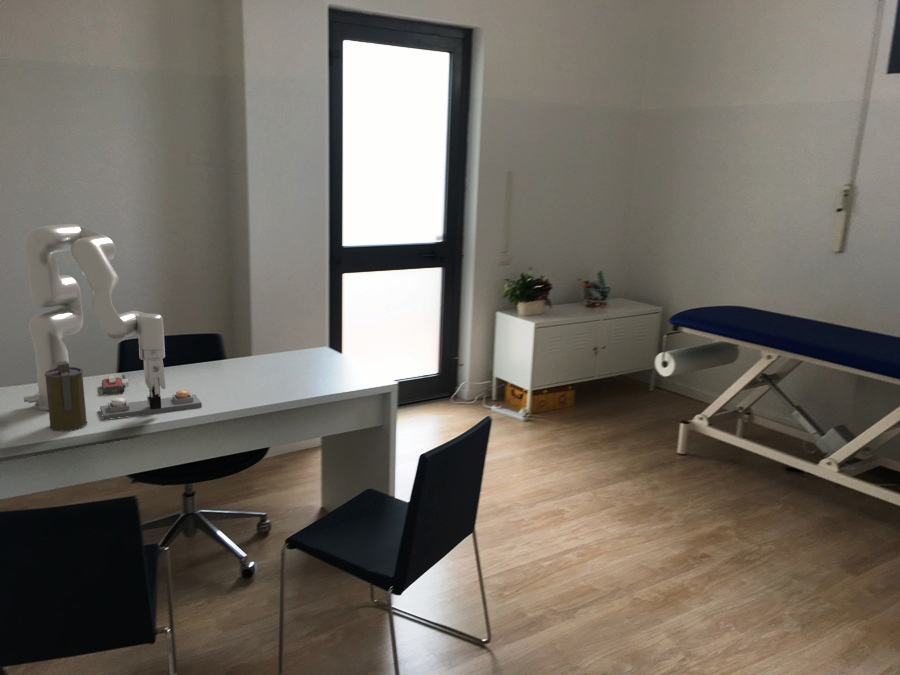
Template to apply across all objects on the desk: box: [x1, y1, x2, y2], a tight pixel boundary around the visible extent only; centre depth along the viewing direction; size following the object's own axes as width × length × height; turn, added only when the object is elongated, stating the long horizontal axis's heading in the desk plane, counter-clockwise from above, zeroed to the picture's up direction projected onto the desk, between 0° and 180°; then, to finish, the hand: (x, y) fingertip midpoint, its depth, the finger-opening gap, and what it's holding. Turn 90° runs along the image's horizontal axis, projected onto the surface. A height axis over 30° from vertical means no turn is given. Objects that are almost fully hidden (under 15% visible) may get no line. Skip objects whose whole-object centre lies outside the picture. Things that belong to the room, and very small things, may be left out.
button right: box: [175, 389, 190, 399], centre depth 248 cm, size 4×4×2 cm
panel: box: [99, 392, 203, 420], centre depth 244 cm, size 30×10×3 cm, turn 121°
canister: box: [44, 361, 88, 432], centre depth 224 cm, size 11×10×20 cm
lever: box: [146, 394, 150, 407], centre depth 241 cm, size 2×3×4 cm, turn 121°
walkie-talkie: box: [101, 374, 129, 395], centre depth 265 cm, size 9×4×20 cm
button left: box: [110, 397, 126, 407], centre depth 238 cm, size 4×4×2 cm
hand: (155, 408), depth 236 cm, fingers closed
